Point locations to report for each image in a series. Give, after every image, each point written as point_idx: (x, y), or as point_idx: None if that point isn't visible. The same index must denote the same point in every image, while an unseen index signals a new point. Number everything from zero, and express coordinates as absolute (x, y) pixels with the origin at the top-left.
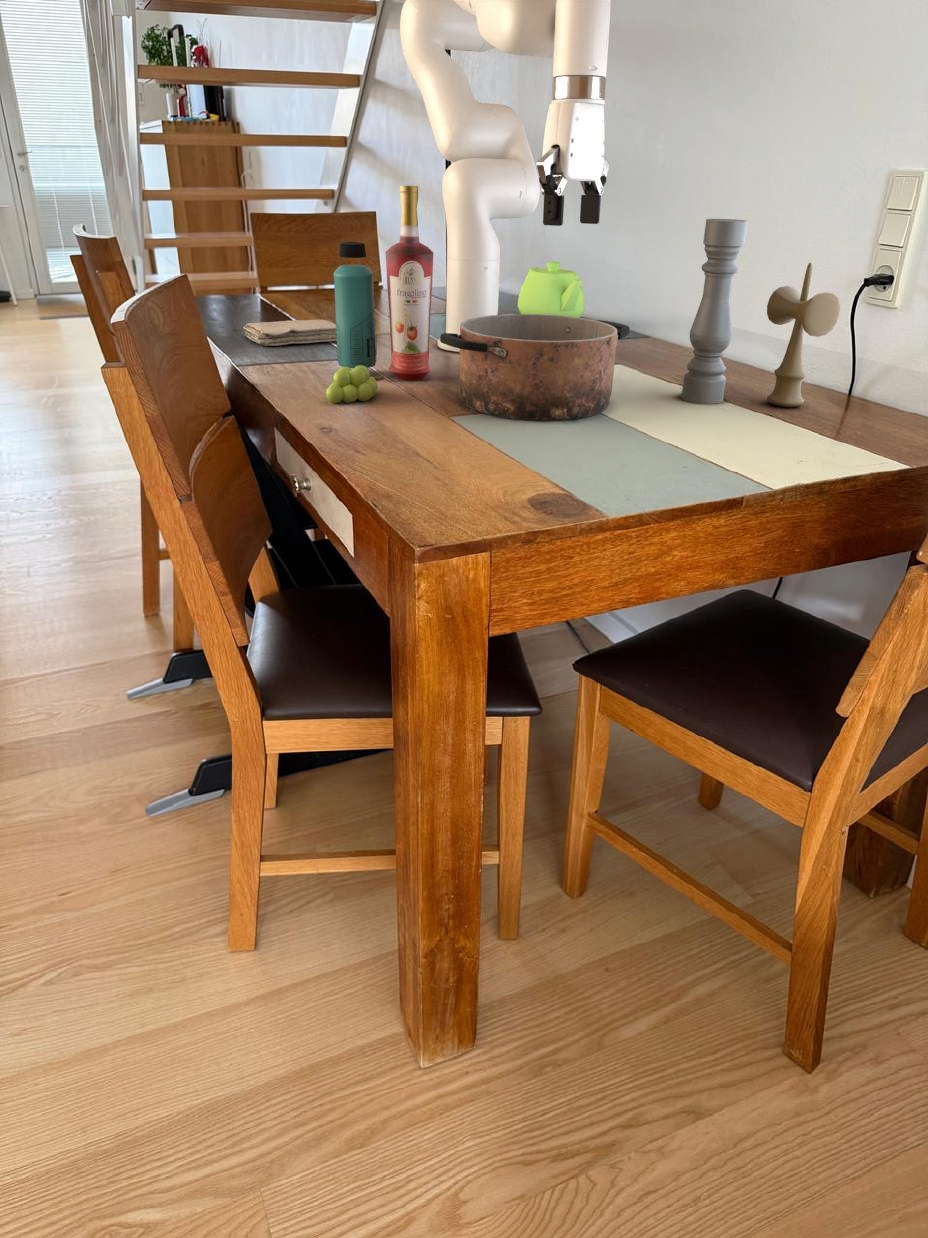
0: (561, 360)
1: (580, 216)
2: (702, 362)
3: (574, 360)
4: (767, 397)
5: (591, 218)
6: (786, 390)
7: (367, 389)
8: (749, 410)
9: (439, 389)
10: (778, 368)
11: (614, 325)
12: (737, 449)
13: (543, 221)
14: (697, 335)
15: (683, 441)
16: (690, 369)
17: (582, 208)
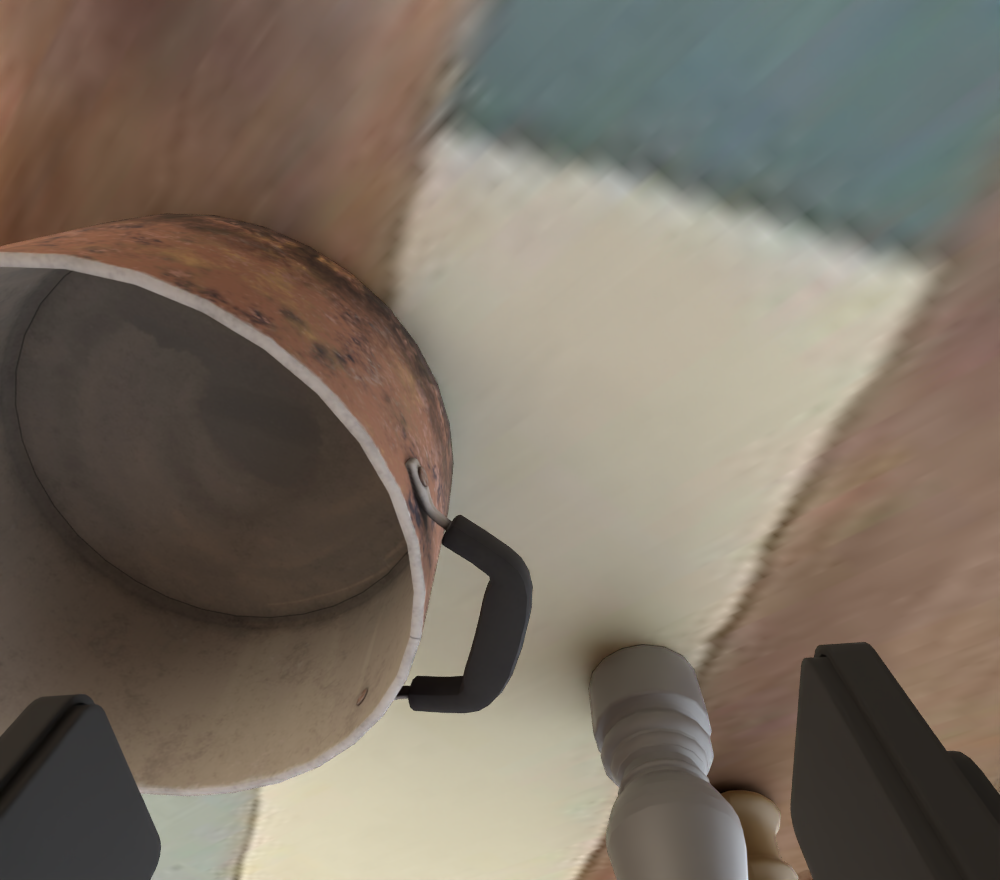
0: None
1: (825, 705)
2: (618, 779)
3: None
4: (725, 795)
5: (811, 814)
6: None
7: None
8: None
9: (36, 122)
10: (748, 877)
11: (473, 657)
12: (339, 874)
13: (28, 714)
14: (608, 840)
15: (294, 809)
16: (605, 738)
17: (877, 814)
